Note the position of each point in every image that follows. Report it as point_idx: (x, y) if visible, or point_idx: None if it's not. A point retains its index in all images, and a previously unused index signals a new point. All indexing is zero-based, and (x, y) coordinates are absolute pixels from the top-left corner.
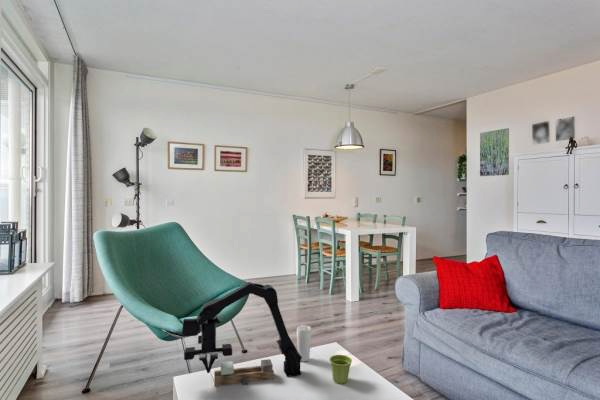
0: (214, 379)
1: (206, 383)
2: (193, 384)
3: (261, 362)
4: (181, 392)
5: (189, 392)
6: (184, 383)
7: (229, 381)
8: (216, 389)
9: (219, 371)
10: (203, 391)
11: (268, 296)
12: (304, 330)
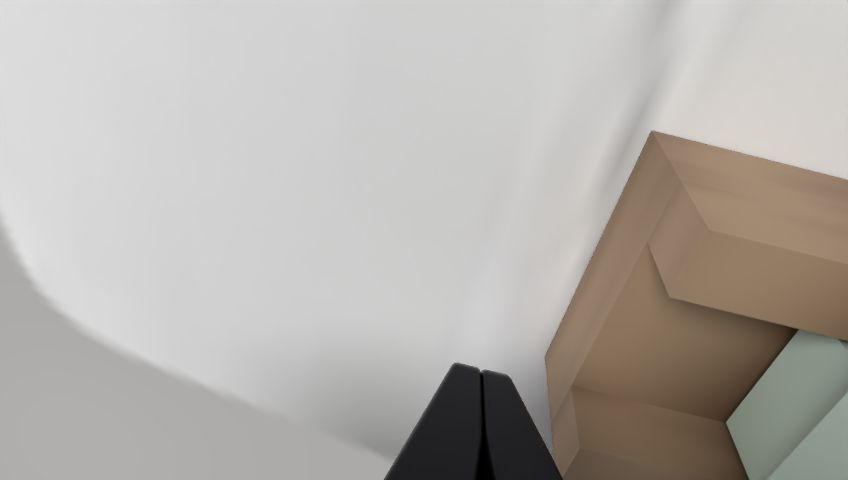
0: (603, 285)
1: (450, 213)
2: (213, 137)
3: None
4: (43, 281)
5: (162, 330)
6: (26, 11)
7: None
8: (540, 424)
9: (804, 326)
10: (356, 389)
11: None
12: None
